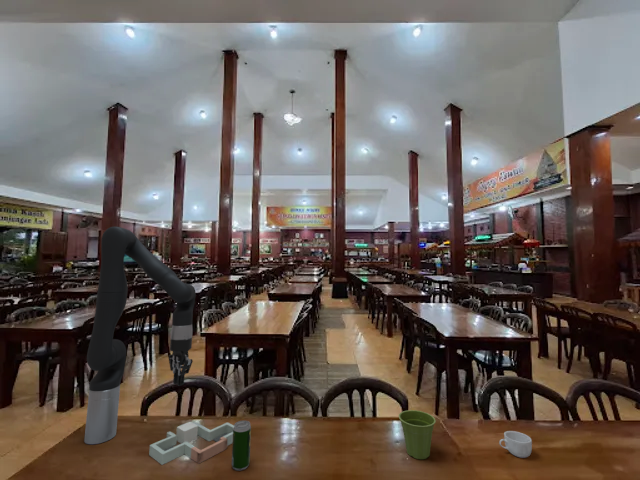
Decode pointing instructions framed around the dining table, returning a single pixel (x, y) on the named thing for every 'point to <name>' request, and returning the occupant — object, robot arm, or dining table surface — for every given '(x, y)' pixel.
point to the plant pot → (417, 432)
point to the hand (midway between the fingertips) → (178, 384)
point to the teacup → (517, 443)
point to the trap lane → (167, 452)
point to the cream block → (187, 432)
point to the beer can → (241, 445)
